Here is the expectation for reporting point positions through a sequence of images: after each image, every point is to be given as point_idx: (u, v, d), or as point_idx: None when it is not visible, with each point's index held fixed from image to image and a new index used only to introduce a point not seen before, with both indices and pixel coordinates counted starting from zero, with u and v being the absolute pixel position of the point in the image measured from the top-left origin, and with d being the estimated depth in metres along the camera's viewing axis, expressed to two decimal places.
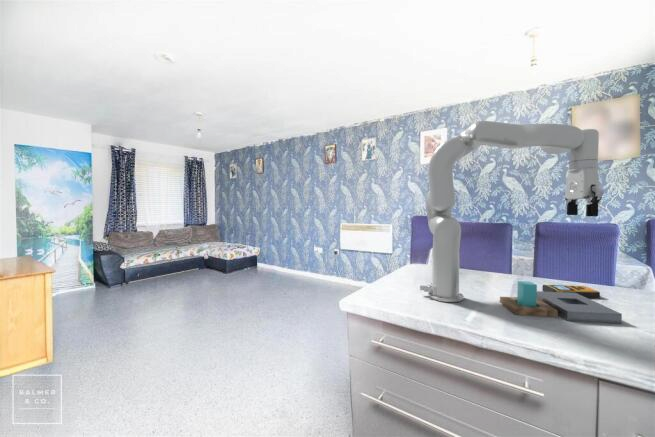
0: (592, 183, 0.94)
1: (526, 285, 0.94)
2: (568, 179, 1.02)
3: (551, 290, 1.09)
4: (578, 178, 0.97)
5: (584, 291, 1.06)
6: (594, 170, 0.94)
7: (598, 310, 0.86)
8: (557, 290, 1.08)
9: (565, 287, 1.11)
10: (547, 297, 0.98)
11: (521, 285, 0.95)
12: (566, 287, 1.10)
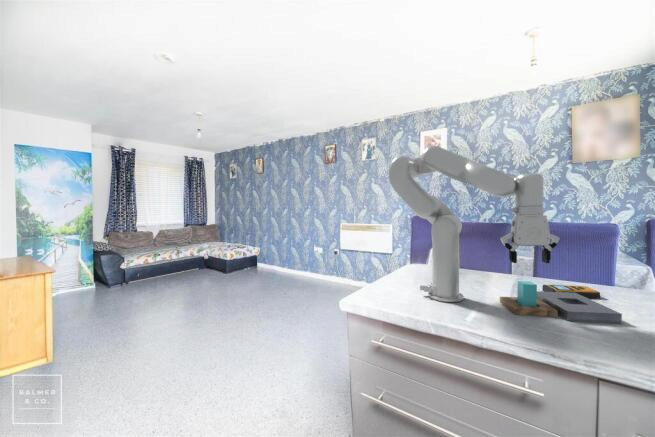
0: None
1: (526, 285, 0.94)
2: (523, 224, 0.92)
3: (550, 290, 1.09)
4: (541, 224, 0.91)
5: (584, 291, 1.06)
6: None
7: (598, 310, 0.86)
8: (556, 290, 1.08)
9: (565, 287, 1.11)
10: (547, 297, 0.98)
11: (521, 285, 0.95)
12: (566, 287, 1.10)
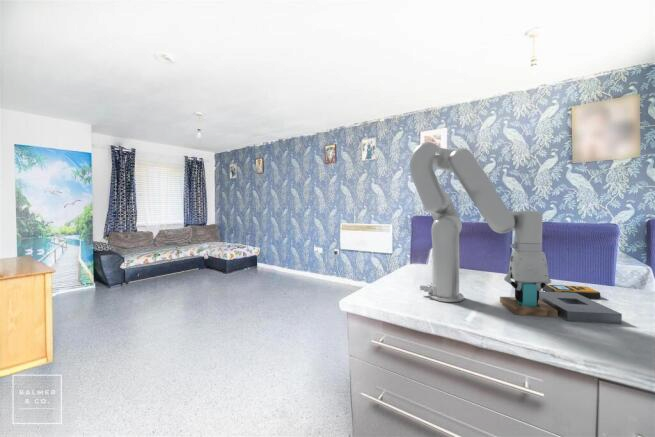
0: None
1: (526, 285, 0.94)
2: (522, 261, 0.93)
3: (550, 290, 1.10)
4: (539, 262, 0.92)
5: (584, 291, 1.06)
6: None
7: (598, 310, 0.86)
8: (556, 290, 1.08)
9: (565, 287, 1.11)
10: (547, 297, 0.98)
11: None
12: (566, 287, 1.11)
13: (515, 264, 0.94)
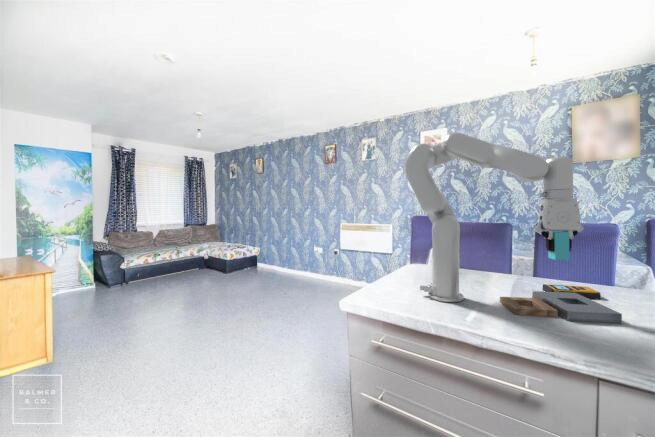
0: None
1: (558, 233, 0.92)
2: (553, 208, 0.91)
3: (549, 289, 1.10)
4: (571, 208, 0.90)
5: (583, 291, 1.06)
6: None
7: (598, 310, 0.86)
8: (555, 289, 1.09)
9: (565, 287, 1.11)
10: (547, 297, 0.98)
11: None
12: (566, 287, 1.11)
13: (546, 212, 0.92)
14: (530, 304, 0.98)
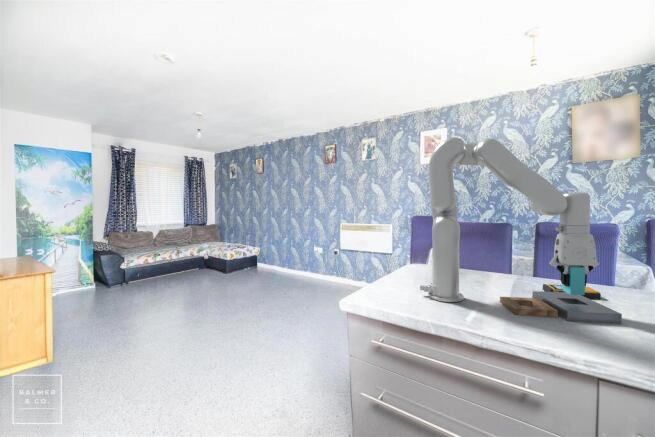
0: None
1: (573, 268, 0.92)
2: (569, 244, 0.91)
3: (548, 289, 1.10)
4: (588, 244, 0.90)
5: None
6: None
7: (598, 310, 0.86)
8: (554, 289, 1.09)
9: None
10: (547, 297, 0.98)
11: None
12: None
13: (562, 247, 0.92)
14: (530, 304, 0.98)
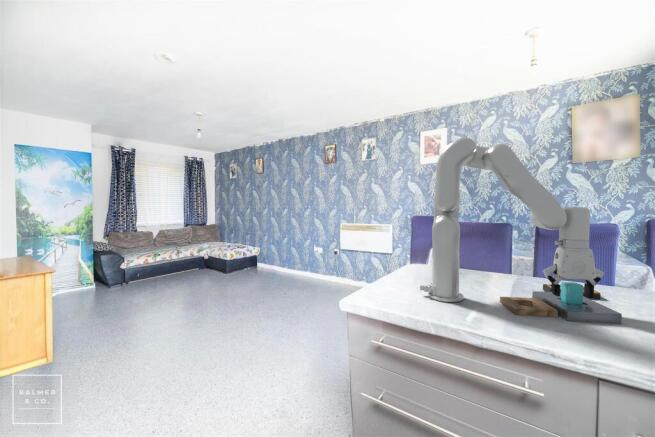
0: None
1: (572, 286, 0.92)
2: (568, 258, 0.91)
3: (548, 289, 1.11)
4: (587, 259, 0.90)
5: (583, 291, 1.06)
6: None
7: (598, 310, 0.86)
8: None
9: None
10: (547, 297, 0.98)
11: (566, 286, 0.94)
12: None
13: (561, 261, 0.92)
14: (530, 304, 0.98)
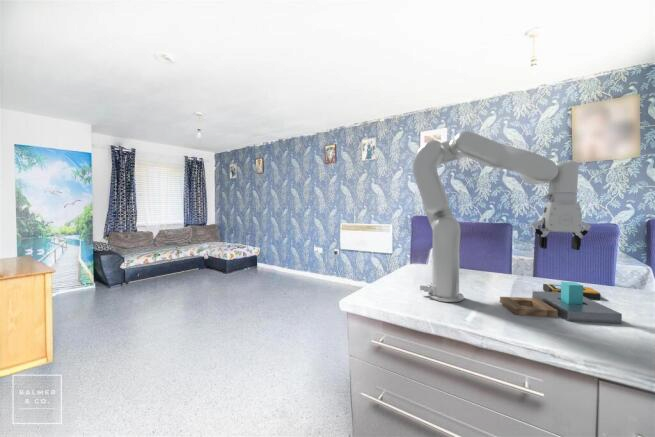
0: None
1: (572, 286, 0.92)
2: (556, 211, 0.94)
3: (547, 289, 1.11)
4: (574, 211, 0.93)
5: None
6: None
7: (598, 310, 0.86)
8: (553, 289, 1.09)
9: None
10: (547, 297, 0.98)
11: (566, 286, 0.94)
12: None
13: (549, 214, 0.95)
14: (530, 304, 0.98)
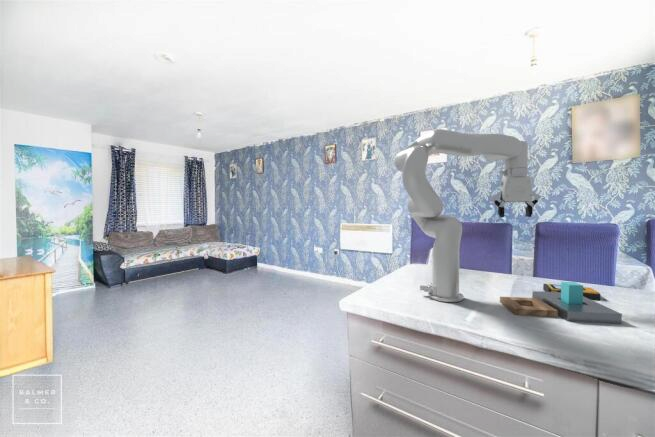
0: None
1: (572, 286, 0.92)
2: (510, 184, 1.10)
3: (547, 288, 1.11)
4: (525, 183, 1.09)
5: None
6: None
7: (598, 310, 0.86)
8: (552, 289, 1.10)
9: None
10: (547, 297, 0.98)
11: (566, 286, 0.94)
12: None
13: (505, 187, 1.10)
14: (530, 304, 0.98)
